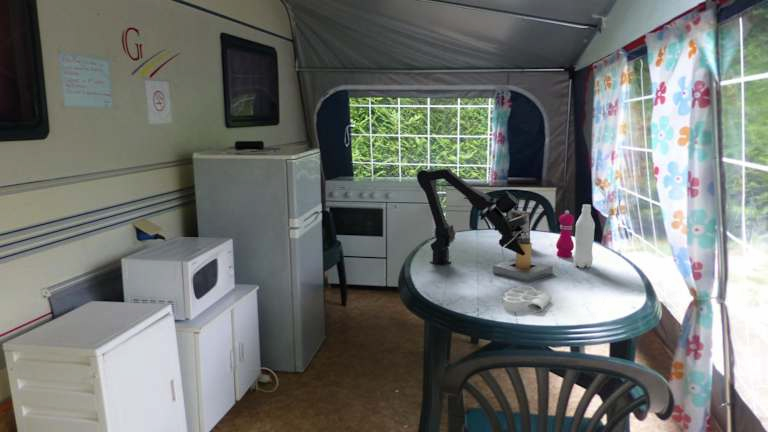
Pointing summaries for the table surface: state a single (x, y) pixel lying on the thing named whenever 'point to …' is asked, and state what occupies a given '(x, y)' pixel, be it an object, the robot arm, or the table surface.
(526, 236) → the plug
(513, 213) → the coffee box
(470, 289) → the table surface
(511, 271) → the grey square frame
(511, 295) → the white flat lumpy part
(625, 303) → the table surface
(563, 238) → the pepper mill
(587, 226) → the water bottle
